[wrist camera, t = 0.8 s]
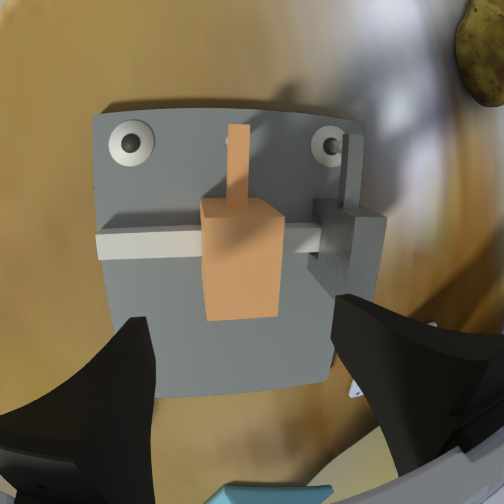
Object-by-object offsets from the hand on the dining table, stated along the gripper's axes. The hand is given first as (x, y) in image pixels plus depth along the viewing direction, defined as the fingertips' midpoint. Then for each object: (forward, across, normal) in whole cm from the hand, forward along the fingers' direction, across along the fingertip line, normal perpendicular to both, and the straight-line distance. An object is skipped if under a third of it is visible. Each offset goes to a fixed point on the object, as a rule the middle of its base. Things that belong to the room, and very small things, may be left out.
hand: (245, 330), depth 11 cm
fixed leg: (+9, -7, -2) cm, 12 cm away
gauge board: (+10, -1, +2) cm, 11 cm away
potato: (+11, -24, -18) cm, 32 cm away
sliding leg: (+9, -1, -3) cm, 10 cm away
